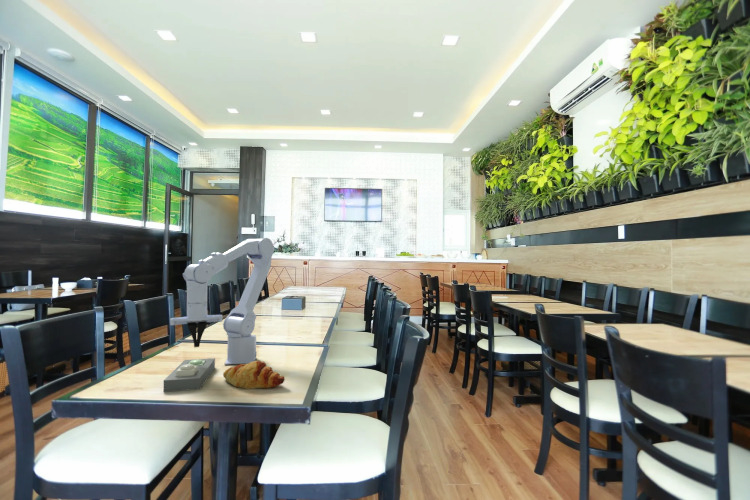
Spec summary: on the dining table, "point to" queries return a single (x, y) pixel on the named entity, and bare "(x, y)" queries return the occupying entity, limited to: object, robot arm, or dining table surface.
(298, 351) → the dining table surface
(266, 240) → the robot arm
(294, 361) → the dining table surface
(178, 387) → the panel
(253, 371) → the croissant
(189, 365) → the button
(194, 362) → the button
